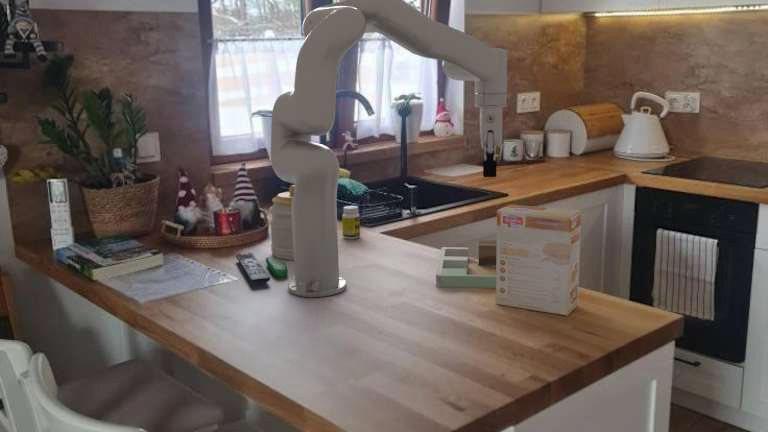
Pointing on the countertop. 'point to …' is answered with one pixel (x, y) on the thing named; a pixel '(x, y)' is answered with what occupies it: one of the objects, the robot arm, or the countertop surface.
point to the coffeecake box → (538, 258)
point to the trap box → (459, 270)
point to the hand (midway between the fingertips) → (489, 175)
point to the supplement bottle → (351, 222)
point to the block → (487, 252)
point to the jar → (282, 225)
